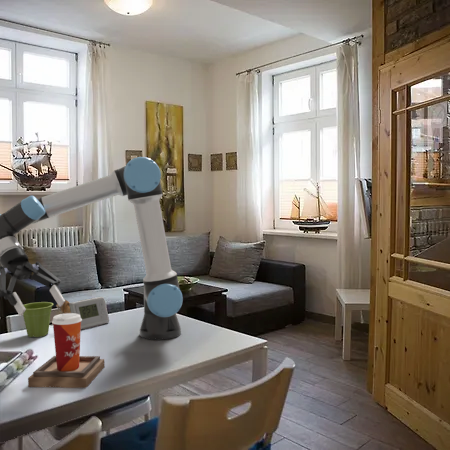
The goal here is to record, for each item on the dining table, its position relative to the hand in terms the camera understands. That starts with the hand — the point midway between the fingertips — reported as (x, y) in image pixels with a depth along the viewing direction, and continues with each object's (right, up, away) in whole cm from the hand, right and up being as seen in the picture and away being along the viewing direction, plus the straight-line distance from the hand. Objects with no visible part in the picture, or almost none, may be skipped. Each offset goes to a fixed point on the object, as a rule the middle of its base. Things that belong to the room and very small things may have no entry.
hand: (43, 308), depth 146 cm
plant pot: (-16, -17, +39) cm, 46 cm away
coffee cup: (+9, -16, -5) cm, 19 cm away
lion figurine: (-10, -16, +58) cm, 61 cm away
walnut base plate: (+9, -19, -5) cm, 21 cm away
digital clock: (0, -16, +51) cm, 54 cm away
